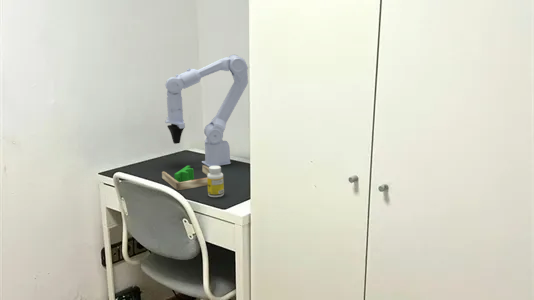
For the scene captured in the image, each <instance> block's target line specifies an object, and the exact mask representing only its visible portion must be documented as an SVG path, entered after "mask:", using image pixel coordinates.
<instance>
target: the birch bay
mask: <svg viewBox="0 0 534 300" xmlns="http://www.w3.org/2000/svg"><path fill="white" fill-rule="evenodd" d="M201 169H202V173H203V174H205V175H206V176H207V175H208V174H209V173H210V172H209V167H208V166H207V165H205V164H202V168H201ZM161 178H162V180H164V181H165V182H166V183H168V184H169V185H170V186H171V187H173V188H174V190H177V191H184V190H189V189H195V188H199V187H208V184H207V177H201V178H197V179H196V178H195V179H194V180H190V181H184V182H178V181H177V180H175V177H172V175H170V174H169V173H167V172H166V171H162V172H161Z"/></svg>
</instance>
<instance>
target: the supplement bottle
mask: <svg viewBox="0 0 534 300" xmlns="http://www.w3.org/2000/svg"><path fill="white" fill-rule="evenodd" d="M208 168H209V172H210V173H209V174H208V175H207V174H206V176H207V177H206V178H207V184H208V185H207V195H208V196H209V197H211V198H221V197H223V196H224V195H225V189H224V188H225V185H224V173H223V172H222V167H221V165H220V166H210V167H208Z"/></svg>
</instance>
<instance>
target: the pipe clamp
mask: <svg viewBox="0 0 534 300" xmlns="http://www.w3.org/2000/svg"><path fill="white" fill-rule="evenodd" d="M194 172H195V171H194V168H191V165H186V166H185V167H183V168H182V169H180V170H179V171H177V172H175V173H174V174H173V175H174V179H175V180H177V181H178V182H184V181H190V180H195V175H194V174H195V173H194Z"/></svg>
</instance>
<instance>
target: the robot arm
mask: <svg viewBox="0 0 534 300" xmlns="http://www.w3.org/2000/svg"><path fill="white" fill-rule="evenodd" d="M248 68H249V67H248V64H247V62H246V60H245V59H244V58H243V57H241V56H239V55H237V54H230V55H229V56H225V57H222V58H220V59H218V60H215V61H213V62H212V63H210V64H207V65H205V66H204V67H201V68H199V69H196V68H187V69H186V71H184V72H182V73H180V74H178V73H176V74H175V76H170V77H169V78H167V80H166V82H165V84H164V85H165V88H166V89H167V91H166V95H167V96H166V105H167V106H166V107H167V117H166V120H165V121H164V122H165V124H168V125H167V129H168V130H169V133H170V135H171V138H172V142H173V144H175V145H176V144H180V143H181V138H182V135H183V131H184V129H185V128H186V123H185V121H184V113H183V111H184V110H183V109H184V108H183V97H182V91H183V89H187V88H189V87H192V86H194V85H196V84H198V83H200V82H201V79H203V78H204V77H206V76H209V75H211V74H214V73H217V72H219V71H224V72H230V73H231V76H232V78H233V83H232V85H231V86H230V88H229V91H228V92H227V94H226V96H225V98H224V100H223V101H222V104H221V106H220V107H219V109H218V110H217V113H216V114H215V116H214V117H213V118H212V119H211V121H210V122H209V123H208V124H207V125H206V126H205V127H204V130H203V131H204V135H205V136H206V138H205V140H204V160H202V161H201V163H202V165H205V166H207V167H208V168H209V167H210V166H220V167H221V166H224V165H225V166H226V165H230V164H231V163H232V162H231V150H230V148H231V147H230V144H229V142H228V141H227V140H223V138H224V132H225V129H226V125H227V122H228V121H229V119H230V117H231V115H232V113H233V112H234V109H235V107H236V105H238V103H239V100H240V98H241V97H242V95H243V93H244V92H245V89H246V88H247V86H248V83H249V79H248V77H249V75H248Z"/></svg>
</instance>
